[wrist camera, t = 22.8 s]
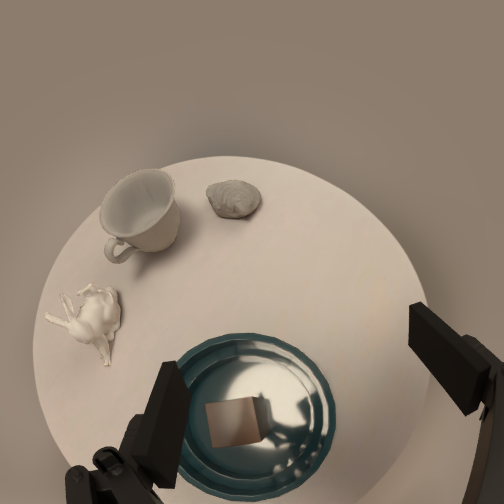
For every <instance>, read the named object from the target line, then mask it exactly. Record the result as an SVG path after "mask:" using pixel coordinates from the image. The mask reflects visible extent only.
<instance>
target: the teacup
mask: <svg viewBox="0 0 504 504" xmlns="http://www.w3.org/2000/svg"><path fill="white" fill-rule="evenodd" d="M174 195H175V184H174V181H173V179H172V177H171V176H170V175H169V174H168V173H166V172H165V171H162V170H159V169H142V170H138V171H135V172H133V173H131V174H129V175H127V176H125V177H124V178H122V179H121V180H120V181H118V182H117V183H116V184H115V185H114V186H113V187H112V188H111V189H110V191H109V192H108V193H107V195H106V196H105V198H104V200H103V203H102V206H101V210H100V223H101V225H102V227H103V229H104V230H105V231H106V232H107V233H109V234H110V235H113V236H116V239H114V238H111V239H109V240H108V241H107V243H106V245H105V248H104V253H105V256H106V258H107V259H108V260H109V261H110V262H112V263H115V264H120V263H123V262H124V261H126V260H127V259H128V258H129V257H130V256H131V255H132V254H133V253H134V252H136V251H144V252H154V251H162V250H165V249H167V248H168V247H169V246H171V244H172V243H173V242H174V240H175V238H176V235H177V233H178V230H179V226H180V215H179V211H178V207H177V204H176V201H175V199H174ZM124 241H126V242H127V243H128V244H129V245H131V246H132V247H129V248H127V249H125V250H124V251H123V252H122V253H121V254H120V255H118V256H116V257H114V255H113V250H114V248H115V246H116V245H117V244H118V245H124Z"/></svg>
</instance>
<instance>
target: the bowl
mask: <svg viewBox="0 0 504 504" xmlns="http://www.w3.org/2000/svg"><path fill="white" fill-rule="evenodd" d="M176 363H177V366H178V368H179V370H180V372H181V375H182V377H183V379H184V381H185V383H186V385H187V388H188V390H189V392H190V394H191V396H192V398H191V403H190V408H189V413H188V418H187V423H186V429H185V434H184V439H183V445H182V450H181V455H180V461H179V467H178V473H179V474H180V475H181V476H182V477H183V478H184V479H185V480H186V481H187V482H189V483H190V484H192V485H194V486H195V487H197V488H198V489H200V490H202V491H203V492H205V493H207V494H210V495H213V496H216V497H219V498H223V499H226V500H230V501H245V502H256V501H261V500H266V499H271V498H276V497H279V496H281V495H283V494H285V493H287V492H289V491H291V490H293V489H295V488H297V487H299V486H301V485H302V484H303V483H304V482H305V481H306V480H307V479H308V478H309V477H311V476H312V475H313V474H314V473H315V472H316V471H317V470H318V469H319V467H320V465H321V464H322V462H323V461H324V459H325V457H326V456H327V454H328V452H329V451H330V448H331V444H332V441H333V437H334V433H335V429H336V412H335V402H334V399H333V396H332V393H331V390H330V387H329V384H328V383H327V380H326V379H325V377H324V376H323V375H322V373H321V372H320V370H319V369H318V367H317V366H316V364H315V363H314V362H313V361H312V360H310V359H309V358H308V357H307V356H306V355H305V354H303V353H302V352H301V351H300V350H299V349H298V348H296V347H294V346H292V345H290V344H288V343H285V342H283V341H281V340H279V339H277V338H275V337H270V336H265V335H261V334H256V333H233V334H226V335H223V336H219V337H216V338H212V339H208V340H206V341H205V342H203V343H201V344H199V345H198V346H196V347H194V348H192V349H191V350H189V351H187V352H186V353H185V354H184V355H183V356H182V357H181V358H180V359H179V360H178V361H177V362H176ZM251 396H253V397H259V398H263V400H264V405H265V410H266V415H267V420H268V425H269V430H270V432H269V434H268V435H267V436H266V437H265V438H264V439H263V441H262V442H259V443H253V444H246V445H239V446H230V447H221V448H213V447H212V442H211V437H210V431H209V426H208V420H207V414H206V409H205V403H212V402H219V401H226V400H233V399H239V398H245V397H251Z"/></svg>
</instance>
